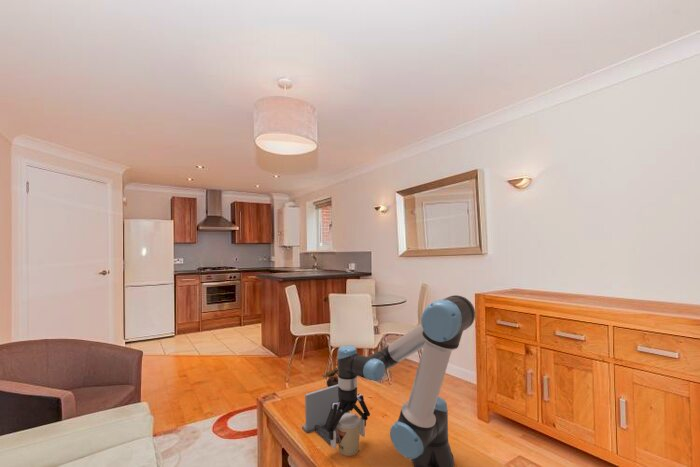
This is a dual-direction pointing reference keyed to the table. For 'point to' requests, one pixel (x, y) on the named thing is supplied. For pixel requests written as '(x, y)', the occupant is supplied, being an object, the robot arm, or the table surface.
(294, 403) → the table surface
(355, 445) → the coffee cup
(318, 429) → the plate
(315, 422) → the wall board
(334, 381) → the music box
